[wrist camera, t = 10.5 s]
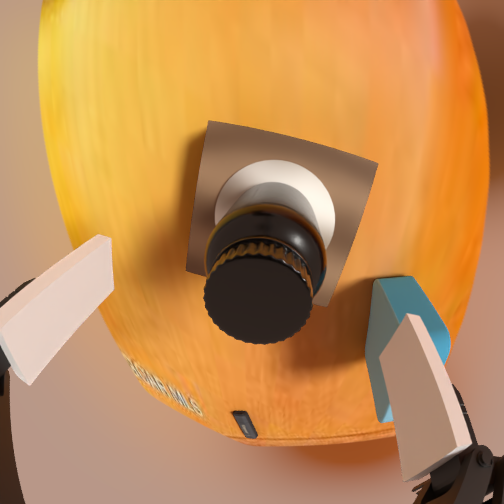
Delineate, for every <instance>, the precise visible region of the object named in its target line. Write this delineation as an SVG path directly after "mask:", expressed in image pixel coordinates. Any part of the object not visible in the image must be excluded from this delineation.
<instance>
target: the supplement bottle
mask: <svg viewBox="0 0 504 504" xmlns="http://www.w3.org/2000/svg"><path fill="white" fill-rule="evenodd" d="M204 265H205V271H206V275H207V279H206V284H205V286H204V293H205V294H204V297H203V299H204V301H205V308H206V309H207V311H208V315H209V316H210V317H211V318H212V320H213V323H214V324H216V325H217V326H218V327H219V329H220V330H222V331H224V332H225V333H226V334H227V335H229V336H232V337H234V338H235V339H236V340H242V341H243V342H245V343H253V344H264V345H265V344H269V343H277V342H278V341H284V340H285V339H286V338H289V337H292V336H293V335H294V333H296V332H299V331H300V329H301V327H302V326H304V325H305V324H306V320H307V319H308V318H309V317H310V311H311V310H312V308H313V302H312V300H313V298H314V297H315V296H316V294H317V293H318V292H319V290H320V288H321V286H322V284H323V282H324V279H325V275H326V271H327V255H326V249H325V245H324V242H323V238H322V235H321V232H320V229H319V226H318V222H317V219H316V216H315V213H314V211H313V208H312V206H311V204H310V203H309V201H308V200H307V198H306V197H305V196H304V195H303V194H302V193H301V192H300V191H299V190H297V189H296V188H294V187H292V186H290V185H287V184H284V183H280V182H265V183H261V184H258V185H255V186H253V187H251V188H250V189H248V190H247V191H245V192H244V193H243V194H242V195H241V196H240V197H239V198H238V199H237V201H236V202H235V203H234V204H233V205H232V207H231V208H230V209H229V210H228V211H227V213H226V214H225V215H224V216H223V217H222V219H221V220H220V221H219V222H218V224H217V225H216V226H215V228H214V229H213V231H212V233H211V234H210V236H209V238H208V241H207V244H206V248H205V254H204Z"/></svg>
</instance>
